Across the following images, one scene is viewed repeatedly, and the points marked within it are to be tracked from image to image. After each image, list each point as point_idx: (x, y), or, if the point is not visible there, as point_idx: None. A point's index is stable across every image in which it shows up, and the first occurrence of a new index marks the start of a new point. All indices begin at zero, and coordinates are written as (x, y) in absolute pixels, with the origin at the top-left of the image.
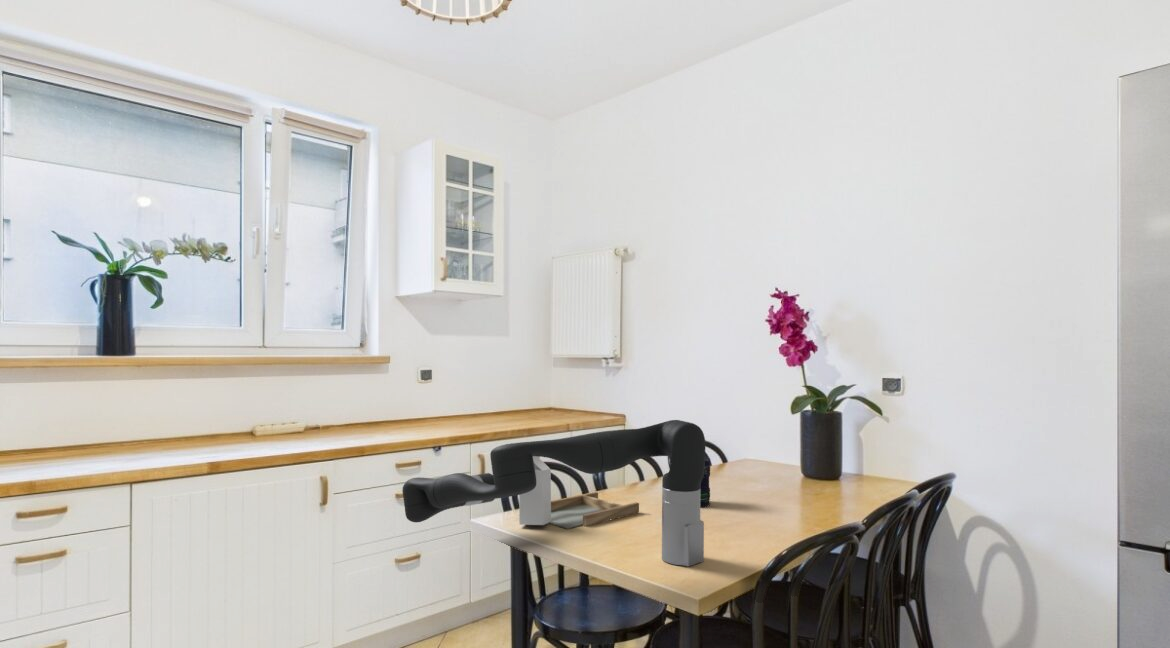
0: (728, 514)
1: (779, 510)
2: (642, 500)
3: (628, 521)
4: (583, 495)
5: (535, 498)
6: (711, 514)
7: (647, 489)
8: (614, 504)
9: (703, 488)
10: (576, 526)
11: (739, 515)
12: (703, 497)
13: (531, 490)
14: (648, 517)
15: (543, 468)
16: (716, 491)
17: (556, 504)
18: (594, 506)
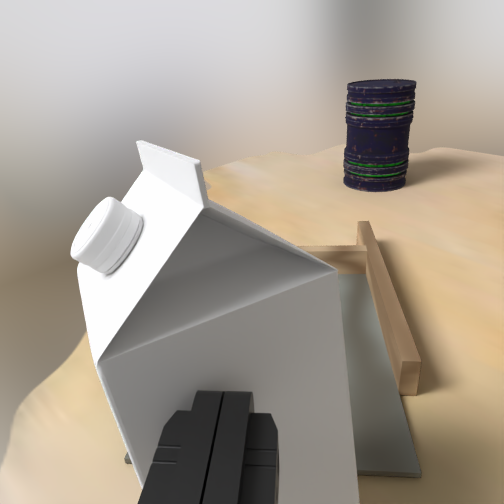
0: (476, 184)
1: (486, 154)
2: (283, 206)
3: (429, 290)
4: None
5: (306, 485)
6: (461, 194)
7: (230, 179)
8: (341, 250)
9: (407, 145)
10: (406, 422)
11: (491, 180)
12: (407, 164)
13: None
14: (418, 251)
15: (282, 239)
16: (328, 151)
17: None
18: None
